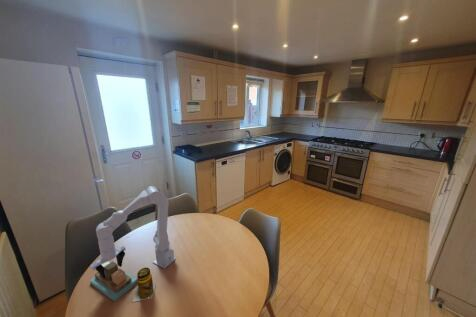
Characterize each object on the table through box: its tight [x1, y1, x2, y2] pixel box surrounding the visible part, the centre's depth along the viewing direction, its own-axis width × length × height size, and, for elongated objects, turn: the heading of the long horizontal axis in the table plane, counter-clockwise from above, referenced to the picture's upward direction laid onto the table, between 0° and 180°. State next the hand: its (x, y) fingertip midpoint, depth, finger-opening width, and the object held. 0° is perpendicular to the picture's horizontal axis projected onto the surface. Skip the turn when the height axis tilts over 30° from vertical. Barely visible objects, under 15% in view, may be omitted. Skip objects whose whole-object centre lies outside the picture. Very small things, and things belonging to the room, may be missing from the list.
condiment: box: [132, 267, 157, 303], centre depth 86 cm, size 7×8×12 cm
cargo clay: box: [111, 268, 126, 285], centre depth 89 cm, size 4×4×4 cm
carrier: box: [94, 260, 132, 293], centre depth 91 cm, size 18×7×8 cm, turn 63°
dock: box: [89, 267, 138, 303], centre depth 92 cm, size 20×11×2 cm, turn 63°
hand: (112, 271), depth 91 cm, fingers open, 7 cm apart
